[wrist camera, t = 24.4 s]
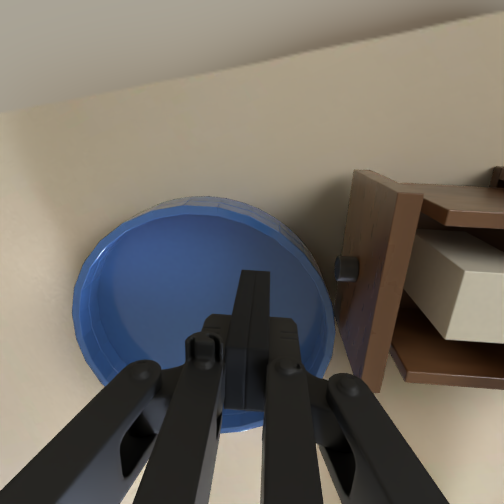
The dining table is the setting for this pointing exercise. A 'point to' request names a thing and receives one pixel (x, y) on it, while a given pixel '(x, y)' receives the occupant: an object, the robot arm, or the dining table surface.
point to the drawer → (393, 277)
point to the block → (458, 285)
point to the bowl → (194, 287)
